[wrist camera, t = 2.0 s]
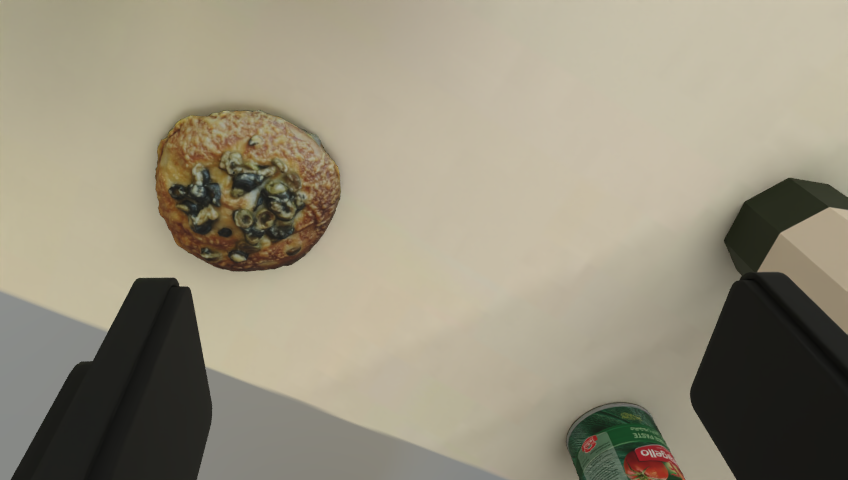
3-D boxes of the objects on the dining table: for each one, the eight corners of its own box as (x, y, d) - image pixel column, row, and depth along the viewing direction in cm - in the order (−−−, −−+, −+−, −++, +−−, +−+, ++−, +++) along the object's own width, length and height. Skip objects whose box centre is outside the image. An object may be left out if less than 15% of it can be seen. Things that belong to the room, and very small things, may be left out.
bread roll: (238, 289, 42) (220, 328, 37) (125, 155, 38) (88, 181, 33) (374, 207, 40) (373, 238, 35) (271, 57, 36) (255, 70, 31)
